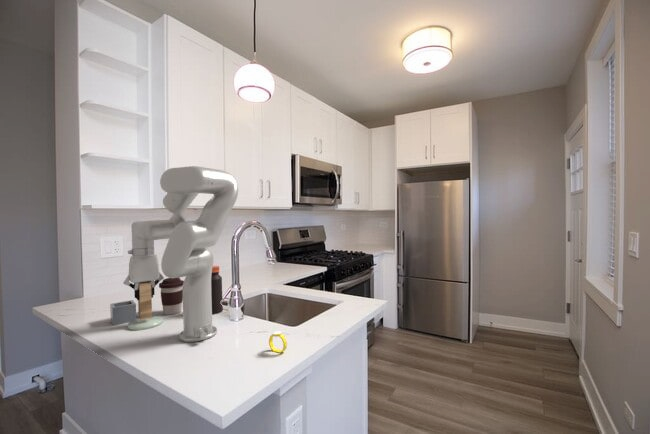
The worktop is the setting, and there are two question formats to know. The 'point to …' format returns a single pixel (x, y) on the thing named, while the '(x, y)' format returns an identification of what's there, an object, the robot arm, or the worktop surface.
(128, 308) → the gray open square box
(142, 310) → the oak peg
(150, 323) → the mint green dome
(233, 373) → the worktop surface
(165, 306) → the coffee cup
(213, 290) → the bottle
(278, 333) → the yellow ring
